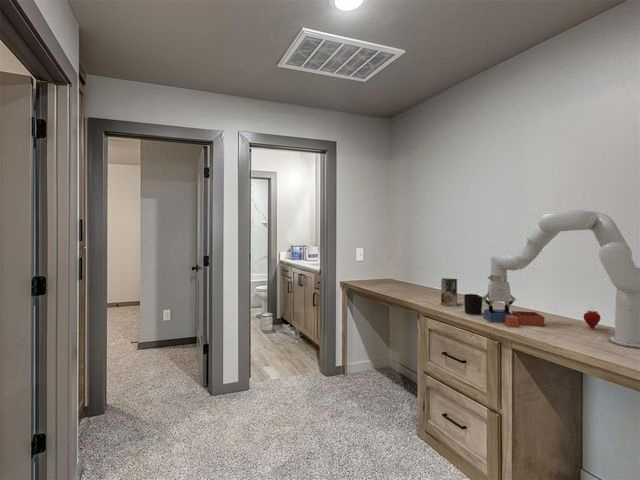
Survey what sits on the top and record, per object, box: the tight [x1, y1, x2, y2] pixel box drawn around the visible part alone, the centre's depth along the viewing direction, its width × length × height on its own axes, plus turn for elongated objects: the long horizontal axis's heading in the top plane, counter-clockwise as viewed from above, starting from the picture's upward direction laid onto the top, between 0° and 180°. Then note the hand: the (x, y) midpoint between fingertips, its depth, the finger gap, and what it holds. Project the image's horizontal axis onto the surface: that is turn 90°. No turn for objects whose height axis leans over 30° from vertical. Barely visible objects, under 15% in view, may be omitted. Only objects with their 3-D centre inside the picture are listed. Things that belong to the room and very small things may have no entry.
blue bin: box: [483, 308, 514, 324], centre depth 192 cm, size 11×11×4 cm
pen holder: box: [463, 293, 483, 316], centre depth 208 cm, size 9×9×10 cm
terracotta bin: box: [511, 310, 546, 327], centre depth 187 cm, size 11×11×4 cm
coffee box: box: [440, 277, 458, 307], centre depth 232 cm, size 9×6×16 cm
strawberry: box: [583, 307, 601, 329], centre depth 176 cm, size 6×8×10 cm
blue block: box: [493, 309, 505, 314], centre depth 192 cm, size 4×4×4 cm
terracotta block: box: [504, 315, 519, 328], centre depth 180 cm, size 4×4×4 cm
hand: (498, 313), depth 191 cm, fingers open, 6 cm apart
